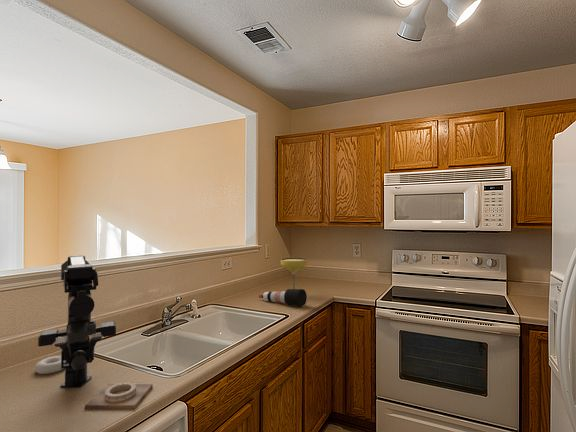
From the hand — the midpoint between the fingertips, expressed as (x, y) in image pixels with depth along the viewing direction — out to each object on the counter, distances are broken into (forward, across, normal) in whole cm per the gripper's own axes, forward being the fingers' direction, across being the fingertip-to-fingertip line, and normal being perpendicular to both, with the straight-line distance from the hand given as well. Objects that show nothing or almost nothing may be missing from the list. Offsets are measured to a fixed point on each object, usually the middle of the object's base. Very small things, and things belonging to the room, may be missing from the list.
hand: (79, 362), depth 96 cm
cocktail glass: (+12, +121, +88) cm, 150 cm away
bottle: (+12, +103, +73) cm, 127 cm away
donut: (+12, -10, +30) cm, 34 cm away
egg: (+2, 0, 0) cm, 2 cm away
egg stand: (+11, +11, -3) cm, 16 cm away
